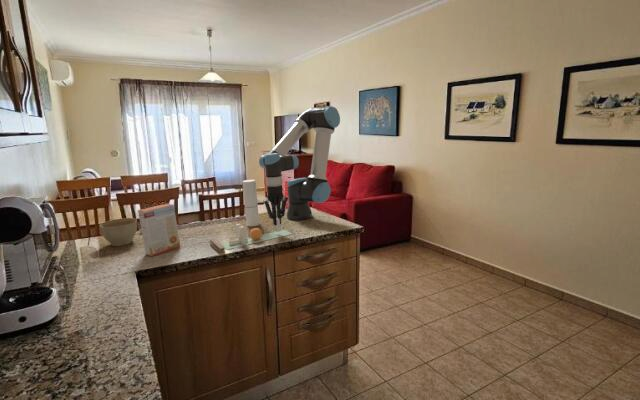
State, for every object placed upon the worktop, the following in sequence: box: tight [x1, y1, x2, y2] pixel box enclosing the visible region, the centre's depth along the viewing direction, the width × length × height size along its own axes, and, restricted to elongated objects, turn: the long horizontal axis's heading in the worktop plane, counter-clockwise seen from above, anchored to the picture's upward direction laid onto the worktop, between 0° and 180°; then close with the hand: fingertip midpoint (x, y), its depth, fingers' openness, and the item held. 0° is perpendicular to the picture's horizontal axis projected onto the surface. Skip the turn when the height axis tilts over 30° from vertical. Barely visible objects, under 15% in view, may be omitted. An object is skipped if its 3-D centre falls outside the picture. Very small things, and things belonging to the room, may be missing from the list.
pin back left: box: [239, 225, 247, 246], centre depth 161 cm, size 2×2×8 cm
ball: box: [249, 227, 263, 240], centre depth 167 cm, size 6×6×6 cm
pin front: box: [228, 236, 249, 246], centre depth 163 cm, size 2×2×8 cm
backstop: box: [209, 238, 226, 254], centre depth 158 cm, size 2×16×2 cm, turn 33°
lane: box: [220, 229, 293, 250], centre depth 168 cm, size 34×9×1 cm, turn 123°
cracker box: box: [137, 203, 181, 257], centre depth 156 cm, size 14×6×21 cm, turn 141°
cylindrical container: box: [242, 179, 260, 227], centre depth 191 cm, size 7×7×25 cm
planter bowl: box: [99, 217, 138, 247], centre depth 171 cm, size 16×16×11 cm
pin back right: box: [235, 223, 242, 239], centre depth 165 cm, size 2×2×8 cm
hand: (277, 230), depth 174 cm, fingers closed
